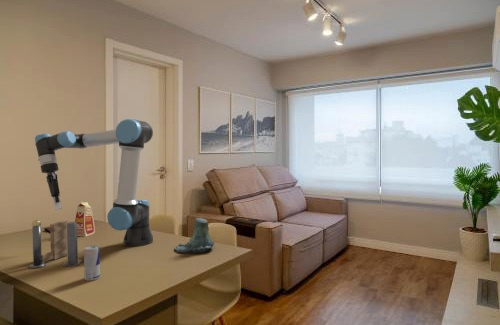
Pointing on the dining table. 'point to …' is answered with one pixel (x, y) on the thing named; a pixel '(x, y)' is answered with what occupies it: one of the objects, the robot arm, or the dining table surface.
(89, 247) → the energy drink
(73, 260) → the dark grey bar
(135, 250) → the dining table surface
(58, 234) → the gate
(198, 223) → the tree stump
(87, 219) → the milk carton
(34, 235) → the hinge post
